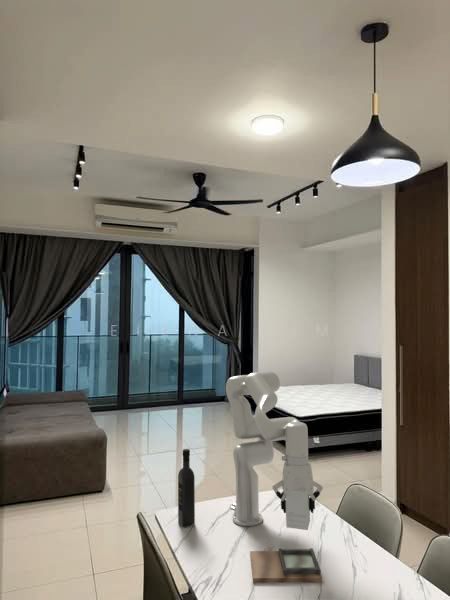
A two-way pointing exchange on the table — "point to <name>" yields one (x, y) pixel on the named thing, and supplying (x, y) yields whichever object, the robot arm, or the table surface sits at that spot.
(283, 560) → the board
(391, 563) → the table surface
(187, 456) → the wine bottle
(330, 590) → the table surface
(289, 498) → the supplement box
